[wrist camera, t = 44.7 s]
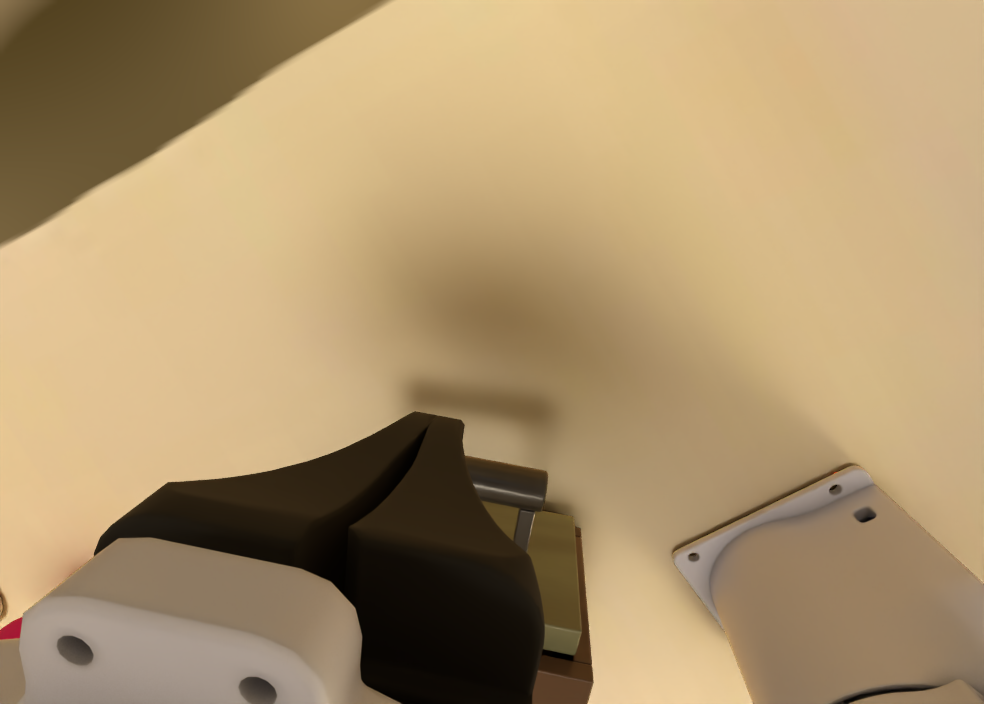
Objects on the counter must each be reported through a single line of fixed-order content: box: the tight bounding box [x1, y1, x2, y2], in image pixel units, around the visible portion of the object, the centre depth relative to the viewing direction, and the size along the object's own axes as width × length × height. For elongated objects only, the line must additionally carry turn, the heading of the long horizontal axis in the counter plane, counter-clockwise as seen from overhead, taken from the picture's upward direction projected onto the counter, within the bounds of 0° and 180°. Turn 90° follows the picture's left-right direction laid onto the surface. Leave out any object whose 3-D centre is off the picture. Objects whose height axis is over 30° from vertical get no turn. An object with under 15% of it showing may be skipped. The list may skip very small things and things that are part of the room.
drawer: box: [465, 456, 582, 657], centre depth 23 cm, size 17×11×7 cm, turn 171°
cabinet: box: [532, 527, 594, 704], centre depth 24 cm, size 13×12×8 cm
